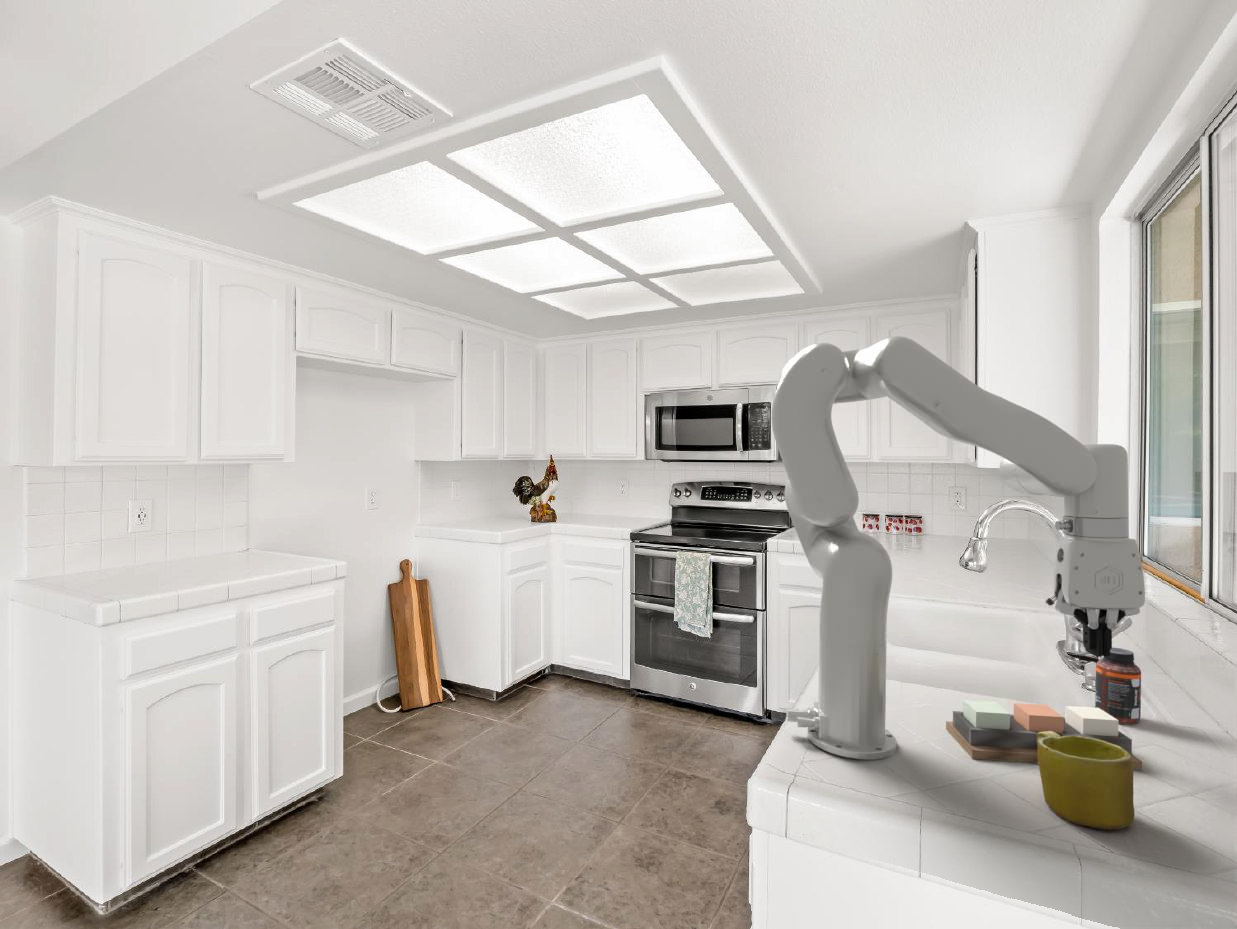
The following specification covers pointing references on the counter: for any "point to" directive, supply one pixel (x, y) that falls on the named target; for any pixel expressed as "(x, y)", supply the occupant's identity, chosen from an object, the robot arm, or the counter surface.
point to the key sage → (986, 715)
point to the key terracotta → (1038, 718)
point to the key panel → (1016, 741)
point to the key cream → (1091, 721)
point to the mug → (1086, 780)
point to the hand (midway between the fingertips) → (1097, 653)
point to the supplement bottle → (1119, 686)
